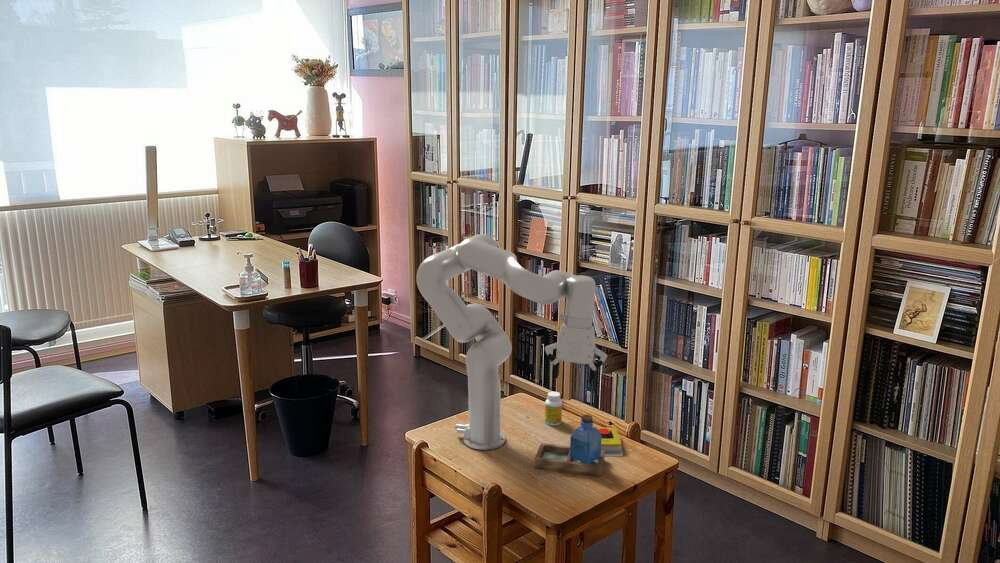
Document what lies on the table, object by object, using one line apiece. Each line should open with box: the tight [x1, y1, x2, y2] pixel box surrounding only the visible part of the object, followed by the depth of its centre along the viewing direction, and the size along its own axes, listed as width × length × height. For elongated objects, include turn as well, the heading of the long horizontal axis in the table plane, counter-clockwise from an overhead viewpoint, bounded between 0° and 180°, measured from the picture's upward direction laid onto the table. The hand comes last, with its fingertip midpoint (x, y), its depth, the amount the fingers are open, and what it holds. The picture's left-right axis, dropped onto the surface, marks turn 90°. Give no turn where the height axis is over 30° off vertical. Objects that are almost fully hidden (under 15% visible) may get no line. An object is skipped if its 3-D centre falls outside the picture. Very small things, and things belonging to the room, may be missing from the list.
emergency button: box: [596, 426, 624, 457], centre depth 215 cm, size 9×4×15 cm
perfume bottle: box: [569, 414, 602, 464], centre depth 200 cm, size 6×6×12 cm
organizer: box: [533, 442, 605, 478], centre depth 203 cm, size 18×10×3 cm, turn 77°
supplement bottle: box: [544, 391, 563, 426], centre depth 229 cm, size 5×5×10 cm
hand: (573, 379), depth 201 cm, fingers open, 9 cm apart
